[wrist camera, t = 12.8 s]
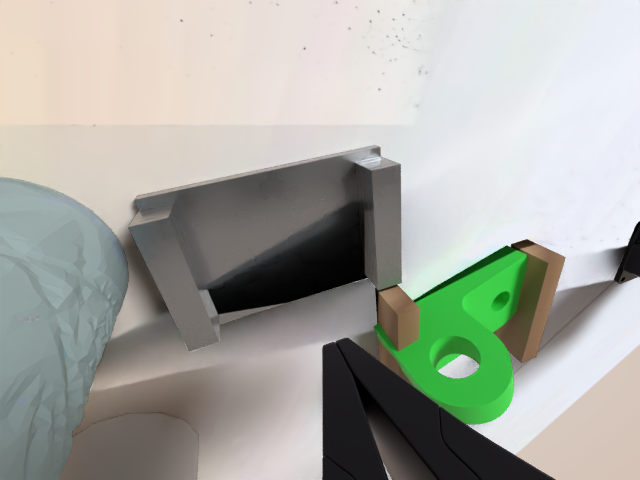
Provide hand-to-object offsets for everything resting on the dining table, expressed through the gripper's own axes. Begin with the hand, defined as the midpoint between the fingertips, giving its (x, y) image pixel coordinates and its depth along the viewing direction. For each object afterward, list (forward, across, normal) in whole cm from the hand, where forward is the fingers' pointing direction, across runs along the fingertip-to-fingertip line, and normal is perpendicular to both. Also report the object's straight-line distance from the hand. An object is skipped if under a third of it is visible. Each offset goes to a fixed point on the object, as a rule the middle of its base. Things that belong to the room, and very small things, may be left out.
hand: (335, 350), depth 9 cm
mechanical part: (+9, -12, +10) cm, 18 cm away
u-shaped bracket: (+9, 0, 0) cm, 9 cm away
